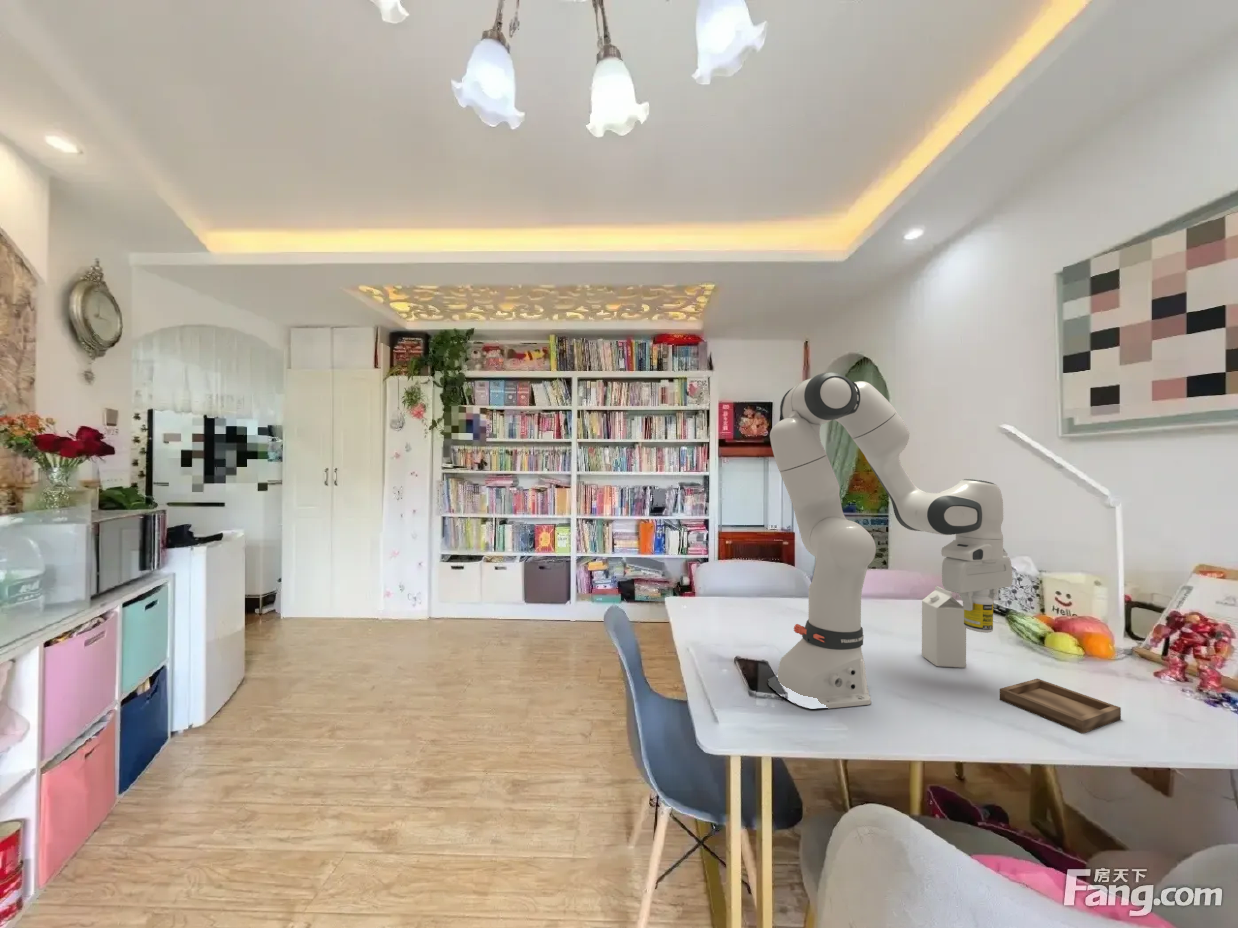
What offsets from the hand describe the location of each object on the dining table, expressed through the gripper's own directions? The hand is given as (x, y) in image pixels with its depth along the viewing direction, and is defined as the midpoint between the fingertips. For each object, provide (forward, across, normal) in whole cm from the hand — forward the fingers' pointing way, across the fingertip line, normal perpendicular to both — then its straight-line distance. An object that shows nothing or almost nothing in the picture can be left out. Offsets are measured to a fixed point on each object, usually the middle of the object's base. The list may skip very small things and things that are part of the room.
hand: (978, 608), depth 109 cm
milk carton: (+18, -6, -12) cm, 23 cm away
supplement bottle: (+5, 0, 0) cm, 5 cm away
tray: (+18, -4, +13) cm, 23 cm away
